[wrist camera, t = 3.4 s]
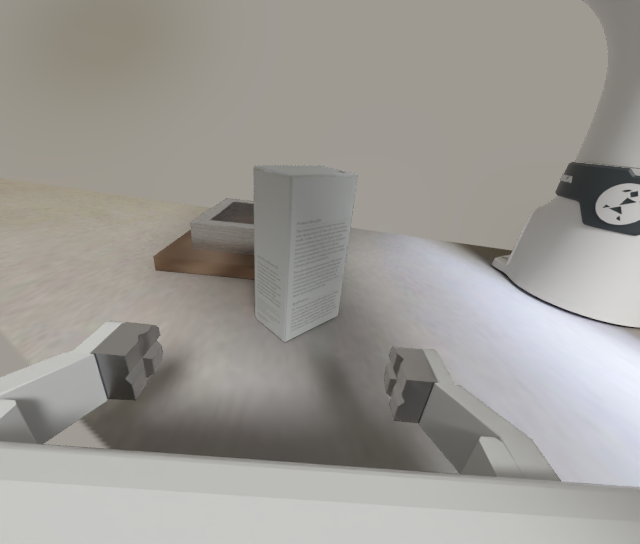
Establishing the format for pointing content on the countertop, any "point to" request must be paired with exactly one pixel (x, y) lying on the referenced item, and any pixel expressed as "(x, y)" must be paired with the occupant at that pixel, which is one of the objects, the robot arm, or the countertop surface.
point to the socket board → (215, 243)
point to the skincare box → (300, 245)
